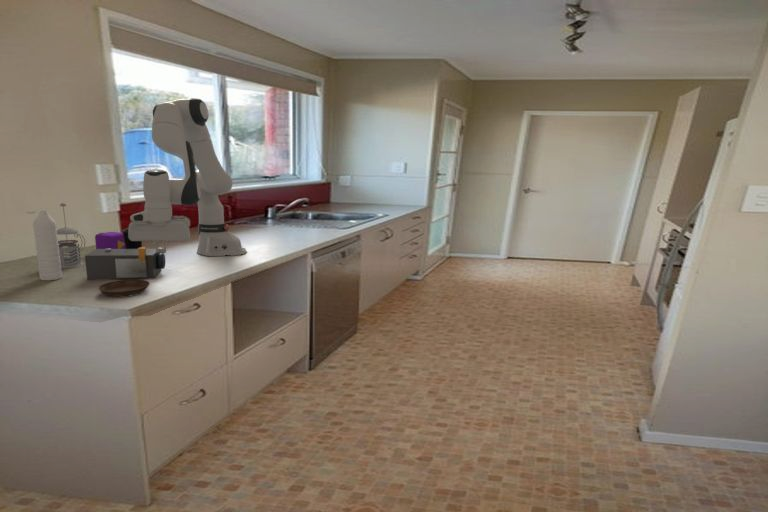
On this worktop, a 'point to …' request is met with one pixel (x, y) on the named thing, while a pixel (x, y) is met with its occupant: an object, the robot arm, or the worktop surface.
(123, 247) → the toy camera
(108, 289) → the saucer
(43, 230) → the water bottle
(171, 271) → the worktop surface
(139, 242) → the drinking cup
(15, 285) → the worktop surface
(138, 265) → the side door
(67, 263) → the french press
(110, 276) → the camera housing
